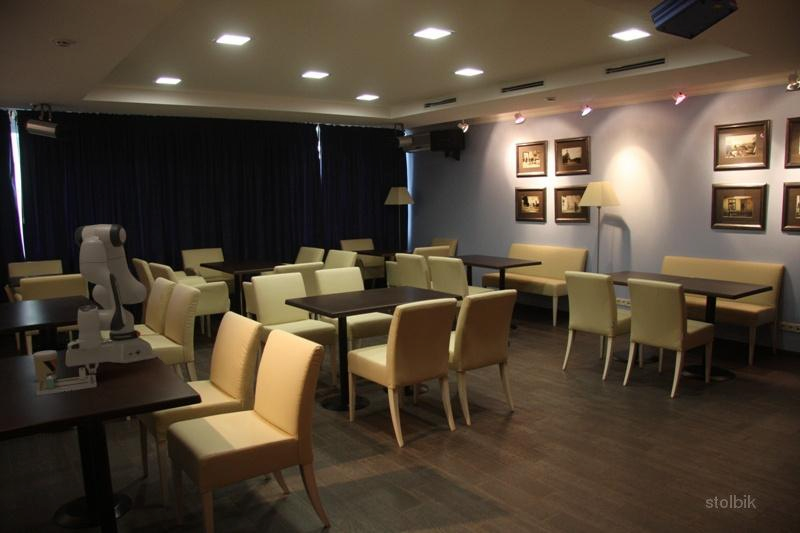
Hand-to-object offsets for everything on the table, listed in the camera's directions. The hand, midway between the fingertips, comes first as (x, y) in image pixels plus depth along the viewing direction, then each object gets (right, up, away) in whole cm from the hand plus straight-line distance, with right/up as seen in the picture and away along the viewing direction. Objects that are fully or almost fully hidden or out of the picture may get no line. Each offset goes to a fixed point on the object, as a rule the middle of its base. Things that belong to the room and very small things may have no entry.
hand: (92, 373), depth 265 cm
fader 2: (-4, -2, -2) cm, 4 cm away
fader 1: (-10, -3, -14) cm, 18 cm away
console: (-7, -4, -8) cm, 11 cm away
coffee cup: (-23, -4, +4) cm, 23 cm away
